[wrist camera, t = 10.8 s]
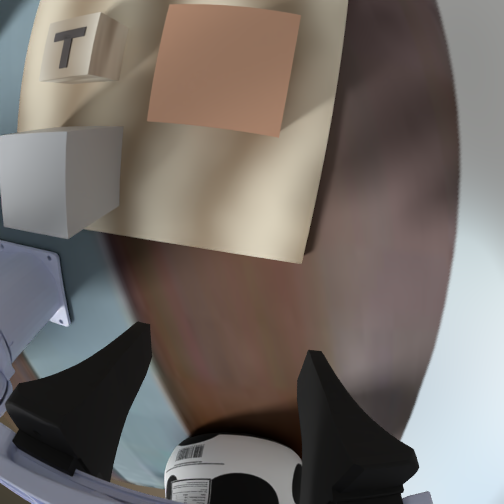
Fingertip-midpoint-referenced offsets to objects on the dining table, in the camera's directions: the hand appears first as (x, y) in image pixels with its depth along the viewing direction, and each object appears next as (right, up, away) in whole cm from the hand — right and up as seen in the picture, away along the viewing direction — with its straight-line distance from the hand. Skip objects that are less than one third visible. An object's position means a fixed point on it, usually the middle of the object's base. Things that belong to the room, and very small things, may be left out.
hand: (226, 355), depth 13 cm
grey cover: (-10, +11, +6) cm, 16 cm away
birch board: (-6, +15, +5) cm, 17 cm away
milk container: (-1, -22, +21) cm, 30 cm away
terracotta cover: (0, +15, +3) cm, 15 cm away
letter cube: (-9, +18, +2) cm, 20 cm away
